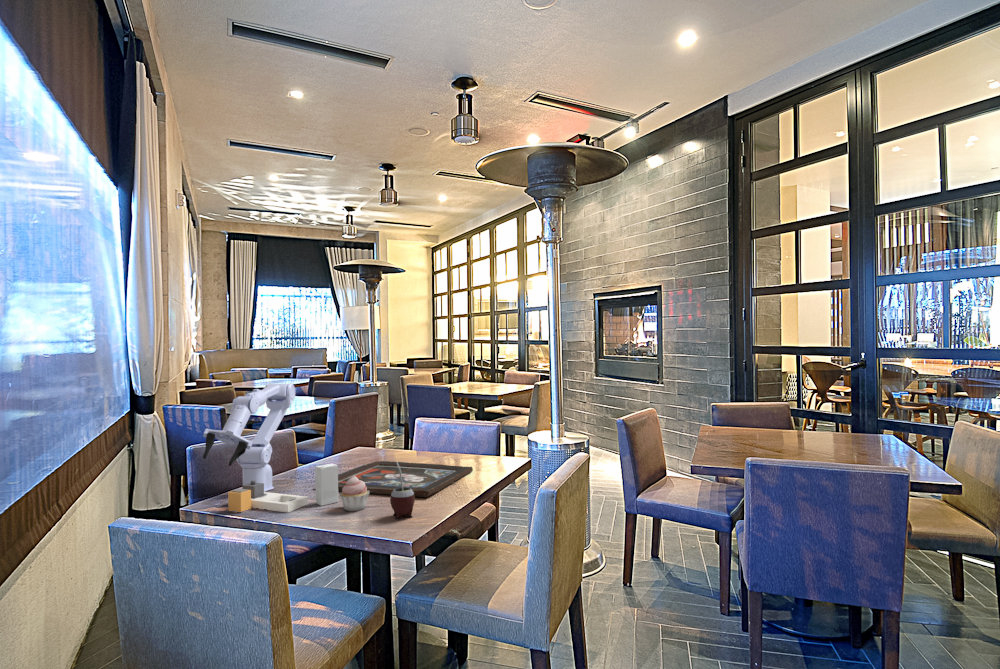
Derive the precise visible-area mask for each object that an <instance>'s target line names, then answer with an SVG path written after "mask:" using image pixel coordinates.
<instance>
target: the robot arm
mask: <svg viewBox="0 0 1000 669" xmlns="http://www.w3.org/2000/svg"><path fill="white" fill-rule="evenodd" d="M295 398H296V387H295V385H294V384H293V383H291V382H290V383H268V384H266V385H265V386H264V388H263V389H259V388H255V389H254V388H253V389H252V391H251V392H249V393H245V395H243V396H242V395H241V396H237V397H236V398H233V400H232V405H231V410H230V415H229V416H228V418H227V421H226V422H225V424H224V426H223V428H222V430H220V429H210V428H205V429H204V431H203V437H204V438H205V450H204V454H203V456H202V459H204V460H206V458H207V457H208V454H209V452H210V450H211V449H212V447H213V445H214V444H215V440H219V441H220V442H221V443H224V444H227V445H232V446H237V447H236V448H235V451H234V453H233V455H232V456H231V458H230V460H229V463H228V466H229V467H231V466H232V465H233V464H234V462H235V461H236V462H237V464H238V465H240V468H242V485H245V484H248V483H251V481H256V483H264V492H268V491H272V490H274V489H275V487H274V486H273V469H272V466H271V465H270V464H269V462H270V460H271V457H272V456H271V455H272V453H273V447H272V445H271V440H272V439H273V436H274V435H275V433H276V431H277V430H278V428H279V426H280V424H281V422H282V420H283V418H284V416H285V414H286V412H287V410H288V409H289V408H290V407H291V405H292V403H293V401H294V399H295ZM264 404H265V405H266V408H267V409H269V412H268V414H267V415H266V417H265V419H264V421H263V422H262V424H261V426H260V427H259V429H258V431H257V433H256V435H255V436H254V438H252V439H250V440H249V439H246V438H245V437H243V436H241V435H242V433H243V432H244V429H245V427H246V425H247V423H248V421H249V419H250V417H251V415H252V414H256V413H257V412H258V409H259V407H261V406H263V405H264Z"/></svg>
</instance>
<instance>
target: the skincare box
mask: <svg viewBox="0 0 1000 669" xmlns="http://www.w3.org/2000/svg"><path fill="white" fill-rule="evenodd" d="M338 467H339V465H337V464H335V463H332V462H331V463H327V464H322V465H315V467H314V474H315V475H314V476H315V478H314V480H315V481H314V482H315V483H314V484H315V503H316V504H317V505H319V506H326V505H327V506H328V505H331V504H335V503H339V491H338V475H339V468H338Z"/></svg>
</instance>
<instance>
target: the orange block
mask: <svg viewBox="0 0 1000 669" xmlns="http://www.w3.org/2000/svg"><path fill="white" fill-rule="evenodd" d="M227 493H228V497H227V505H228V512H229V511H237V512H242V511H245V510H248V509H251V510H252V508H251V490H248V489H242V488H240V487H239V488H236V489H233V490H230V491H228V492H227ZM248 511H249V510H248ZM237 512H236V513H237ZM245 512H246V511H245Z"/></svg>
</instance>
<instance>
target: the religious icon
mask: <svg viewBox="0 0 1000 669" xmlns="http://www.w3.org/2000/svg"><path fill="white" fill-rule="evenodd" d="M396 462H398V464H399V466H400V469H401V472H402V474H401V475H402V483H403V487H408V488H411V489H412V491H413V492H414V496H415V498H416V497H417V498H418V497H419V498H427V497H430V496H431V495H434V494H435V493H437V492H438V491H439V492H440V491H441V490H443V489H445V488H446V487H448V486H449V485H450V486H456V485H457V484H456V483H455V482H456V481H458V480H460V479H461V478H463V477H465V476H467V475H469V474H470V473H472V472H473V470H474V468H473V466H461V465H447V464H437V463H423V462H420V463H419V462H407V461H406V462H404V461H388V460H385V461H384V460H380V461H379V460H377V461H372V462H370V463H366V464H363V465H361V466H358V467H355V468H352V469H349V470H347V471H344V472H341V473H338V492H342V489H343V487H344V486H345V485H346V482H347V481H348V480H349V479H350V478H352V477H353V476H355V477H357V478H358V479H359V480H361V481H363V482H364V483H365V485H366V487H367V491H369V494H376V495H377V494H379V495H390V496H391V493H392V492H393V490H394V489H396V488H400V487H401V481H400V474H399V469H398V466H397V463H396Z"/></svg>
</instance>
